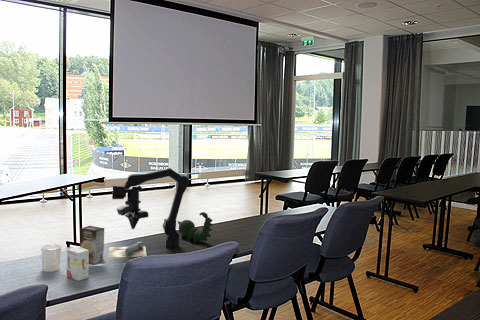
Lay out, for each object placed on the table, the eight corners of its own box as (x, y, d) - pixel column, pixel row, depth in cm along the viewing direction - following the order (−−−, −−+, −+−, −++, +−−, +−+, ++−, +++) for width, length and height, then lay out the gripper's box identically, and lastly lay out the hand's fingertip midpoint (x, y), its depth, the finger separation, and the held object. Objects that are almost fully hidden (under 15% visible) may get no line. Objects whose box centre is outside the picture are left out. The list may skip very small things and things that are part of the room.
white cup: (53, 273, 173) (53, 250, 172) (36, 271, 174) (37, 248, 174) (64, 267, 180) (65, 245, 180) (48, 265, 182) (49, 243, 181)
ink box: (65, 276, 170) (66, 248, 170) (76, 273, 174) (77, 246, 174) (78, 281, 166) (78, 252, 165) (88, 278, 170) (89, 250, 169)
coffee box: (78, 262, 188) (79, 228, 187) (88, 258, 194) (88, 225, 193) (95, 265, 185) (95, 230, 184) (104, 261, 191) (105, 227, 190)
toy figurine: (213, 246, 230) (182, 233, 245) (217, 213, 228) (185, 203, 242) (201, 249, 222) (170, 236, 237) (205, 215, 220) (173, 205, 235)
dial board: (145, 248, 215) (145, 245, 215) (146, 258, 198) (146, 255, 198) (109, 249, 210) (109, 246, 210) (107, 259, 194) (107, 257, 194)
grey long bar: (138, 246, 212) (138, 241, 211) (144, 247, 211) (144, 242, 211) (123, 254, 198) (123, 248, 198) (130, 255, 197) (130, 249, 197)
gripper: (109, 198, 208) (109, 228, 209) (130, 203, 196) (129, 235, 197) (128, 195, 216) (127, 224, 218) (149, 200, 204) (148, 231, 205)
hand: (133, 228), depth 209 cm, fingers closed
